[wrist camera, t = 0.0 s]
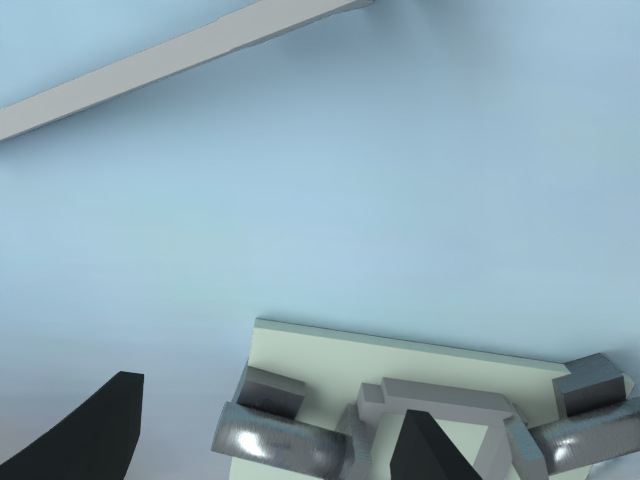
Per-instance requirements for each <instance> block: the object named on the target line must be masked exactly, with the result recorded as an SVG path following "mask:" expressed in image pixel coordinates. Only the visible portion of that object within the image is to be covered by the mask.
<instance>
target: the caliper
mask: <svg viewBox="0 0 640 480" xmlns="http://www.w3.org/2000/svg"><path fill="white" fill-rule="evenodd" d="M372 3H374V1H373V0H261V1H258V2H256V3H254V4H251V5H249V6H246V7H244V8H241V9H239V10H237V11H234V12H232V13H229V14H227V15H225V16H222V17H220V18H218V20H217V21H215V22H212V23H210V24H207V25H205V26H203V27H200V28H198V29H195V30H193V31H190V32H188V33H186V34H183V35H181V36H178V37H176V38H173V39H171V40H168V41H166V42H164V43H161V44H159V45H156V46H154V47H151V48H149V49H147V50H144V51H142V52H139V53H137V54H134V55H132V56H129V57H127V58H125V59H122V60H120V61H117V62H115V63H112V64H110V65H108V66H105V67H103V68H100V69H98V70H95V71H93V72H90V73H88V74H86V75H83V76H81V77H78V78H76V79H73V80H71V81H69V82H66V83H64V84H61V85H59V86H56V87H54V88H51V89H49V90H47V91H44V92H42V93H39V94H37V95H34V96H32V97H30V98H27V99H25V100H22V101H20V102H17V103H15V104H12V105H10V106H8V107H5V108H3V109H0V142H2V141H5V140H7V139H10V138H13V137H16V136H18V135H21V134H23V133H26V132H28V131H31V130H34V129H36V128H39V127H41V126H44V125H47V124H49V123H52V122H54V121H57V120H59V119H62V118H65V117H67V116H70V115H72V114H75V113H77V112H80V111H83V110H85V109H88V108H90V107H93V106H96V105H98V104H101V103H103V102H106V101H108V100H111V99H114V98H116V97H119V96H121V95H124V94H127V93H129V92H132V91H134V90H137V89H139V88H142V87H145V86H147V85H150V84H152V83H155V82H158V81H160V80H163V79H165V78H168V77H171V76H173V75H176V74H178V73H181V72H183V71H186V70H189V69H191V68H194V67H196V66H199V65H202V64H204V63H207V62H209V61H212V60H214V59H217V58H220V57H222V56H225V55H227V54H230V53H233V52H235V51H238V50H240V49H243V48H246V47H251V46H254V45H257V44H260V43H262V42H265V41H267V40H270V39H272V38H275V37H277V36H280V35H283V34H285V33H288V32H291V31H293V30H296V29H298V28H300V27H303V26H305V25H308V24H310V23H313V22H315V21H317V20H320V19H322V18H325V17H327V16H330V15H333V14H336V13H341V12H345V11H349V10H353V9H358V8H362V7H364V6H367V5H370V4H372Z"/></svg>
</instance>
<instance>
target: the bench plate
mask: <svg viewBox="0 0 640 480" xmlns="http://www.w3.org/2000/svg"><path fill="white" fill-rule="evenodd" d="M248 366H252V367H255V368H258V369H262V370H265V371H269V372H272V373H276V374H279V375H283V376H286V377H289V378H293V379H296V380H300V381H303V382H305V398H304V400H303V402H302V404H301V406H300V409H299V411H298V413H297V415H296V417H295V420H297V421H300V422H304V423H308V424H311V425H315V426H318V427H322V428H326V429H329V430H333V431H334V430H335V428H336V426H337V424H338V422H339V420H340V418H341V416H342V414H343V412H344V410H345V408H346V406H347V404H348V403H350V404H353V405H357V407H358V413H359V419H360V420H362V421H365V425H366V430H367V436H368V442H369V447H370V453H371V459H372V466H371V468H370V470H369V472H368V473H367V475H366V477H365V479H364V480H391V475H390V461H391V458H392V455H393V452H394V449H395V446H396V443H397V439H398V436H399V433H400V430H401V427H402V424H403V421H404V418H405V415H406V411H407V409H411V410H419V411H426V412H429V413H430V414H431V416H432V417H433V418H434V419H435V421H436V422H437V423H438V424H439V426H440V427H441V428H442V429H443V431H444V432H445V433H446V435H447V436H448V437H449V438H450V440H451V441H452V442H453V443H454V445H455V446H456V447H457V449H458V450H459V451H460V452H461V453H462V455H463V456H464V457H465V458H466V460H467V461H468V462H469V463H470V465H471V466H472V467H473V468H474V469H475V471H476V472H477V473H478V474H479V475H480V476H481V478H482V479H483V480H520V478H519V476H518V474H517V472H516V470H515V468H514V466H513V465H512V463H511V462H512V460H513V458H512V454H511V450H510V446H509V442H508V438H507V435H506V431H505V429H504V428H505V427H504V423H503V419H506V418H509V417H511V416H512V414H513V412H512V410H511V408H510V407H509V405H508V403H507V402H508V401H510V402H511V403H512V405H513V407H514V408H515V410H516V412H517V413H518V415H519V416H520V418H521V420H522V421H523V423H524V425H525V426H526V428H527V429H529V428H532V427H536V426H539V425H543V424H546V423H550V422H553V421H557V420H560V419H559V414H558V409H557V404H556V399H555V394H554V389H553V384H552V379H555V378H558V377H561V376H565V375H568V374H572V373H571V372H570V371H569V370H568V369H567V368H566V367H565V365H564V364H560V363H553V362H546V361H539V360H532V359H526V358H519V357H512V356H505V355H499V354H492V353H485V352H478V351H471V350H465V349H458V348H451V347H444V346H438V345H431V344H424V343H417V342H410V341H404V340H397V339H390V338H383V337H377V336H370V335H363V334H356V333H349V332H343V331H336V330H329V329H322V328H316V327H309V326H302V325H295V324H288V323H282V322H275V321H268V320H261V319H255V324H254V330H253V336H252V342H251V348H250V354H249V360H248ZM620 373H621V372H620ZM621 374H622V375H623V376H624V383H625V391H626V399H627V398H628V396H629V394H630V392H631V391H632V389H633V387H634V385H635V382H634V381H633V380H632V379H631V378H630V377H629V376H628V375H627V374H626V373H621ZM592 465H593V464H592ZM592 465H588V466H585V467H581V468H577V469H574V470H570V471H567V472H563V473H559V474H556V475H552V476H549V480H585V479H586V477H587V475H588V473H589V471H590V469H591V467H592ZM229 480H323V479H319V478H315V477H311V476H307V475H303V474H299V473H295V472H291V471H287V470H283V469H280V468H276V467H272V466H268V465H264V464H260V463H256V462H252V461H248V460H244V459H240V458H237V457H233V458H232V464H231V470H230V476H229Z"/></svg>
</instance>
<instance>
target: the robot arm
mask: <svg viewBox="0 0 640 480" xmlns="http://www.w3.org/2000/svg"><path fill="white" fill-rule="evenodd" d="M143 384H144V374H139V373H131V372H123V371H120V372H119V373H117V374H116V375H114V376H113V377H112V378H111V379H110V380H109V381H108V382H107V383H106V384H104V385H103V386H102V387H101V388H100V389H99V390H98V391H96V392H95V393H94V394H93V395H92V396H91V397H90V398H88V399H87V400H86V401H85V402H84V403H83V404H81V405H80V406H79V407H78V408H76V409H75V410H74V411H73V412H72V413H70V414H69V415H68V416H67V417H65V418H64V419H63V420H62V421H60V422H59V423H58V424H57V425H55V426H54V427H53V428H52V429H50V430H49V431H48V432H46V433H45V434H43V435H42V436H41V437H39V438H38V439H37V440H35V441H34V442H33V443H31V444H30V445H29V446H27V447H26V448H25V449H23V450H22V451H20V452H19V453H17V454H16V455H14V456H13V457H12V458H10V459H9V460H7V461H6V462H4V463H3V464H1V465H0V480H123V479H124V477H125V475H126V472H127V470H128V467H129V464H130V461H131V459H132V456H133V453H134V450H135V447H136V444H137V442H138V439H139V436H140V426H141V412H142V398H143ZM390 475H391V480H483V479H482V478H481V476H480V475H479V474H478V473H477V472H476V471H475V469H474V468H473V467H472V466H471V465H470V463H469V462H468V461H467V460H466V458H465V457H464V456H463V455H462V453H461V452H460V451H459V450H458V449H457V447H456V446H455V445H454V443H453V442H452V441H451V440H450V438H449V437H448V436H447V435H446V433H445V432H444V431H443V429H442V428H441V427H440V426H439V424H438V423H437V422H436V421H435V419H434V418H433V417H432V416H431V414H430V413H429V412H426V411H419V410H411V409H407V411H406V415H405V418H404V421H403V424H402V427H401V430H400V433H399V436H398V439H397V443H396V446H395V449H394V452H393V455H392V458H391V461H390Z"/></svg>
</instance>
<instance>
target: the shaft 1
mask: <svg viewBox="0 0 640 480" xmlns="http://www.w3.org/2000/svg"><path fill="white" fill-rule="evenodd" d="M248 360H249V358H248ZM304 398H305V382H303V381H300V380H296V379H293V378H289V377H286V376H283V375H279V374H276V373H272V372H269V371H265V370H262V369H258V368H255V367H252V366H248V361H247V364H246V366H245V369H244V371H243V374H242V377H241V379H240V382H239V384H238V387H237V389H236V392H235V395H234V397H233V400H232V402H228V401H226V403H225V405H224V407H223V410H222V413H221V415H220V418H219V421H218V425H217V428H216V431H215V435H214V438H213V442H212V447H211V451H213V452H217V453H221V454H225V455H229V456H233V457H237V458H240V459H244V460H248V461H252V462H256V463H260V464H264V465H268V466H272V467H276V468H280V469H283V470H287V471H291V472H295V473H299V474H303V475H307V476H311V477H315V478H319V479H323V480H364V479H365V477H366V475H367V473H368V472H369V470H370V468H371V466H372V459H371V453H370V447H369V442H368V436H367V430H366V425H365V421H362V420H360V419H359V413H358V407H357V405H353V404H350V403H348V404H347V406H346V408H345V410H344V412H343V414H342V416H341V418H340V420H339V422H338V424H337V426H336V428H335V430H334V431H333V430H329V429H326V428H322V427H318V426H315V425H311V424H308V423H304V422H300V421H297V420H295V417H296V415H297V413H298V411H299V409H300V406H301V404H302V402H303V400H304Z"/></svg>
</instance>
